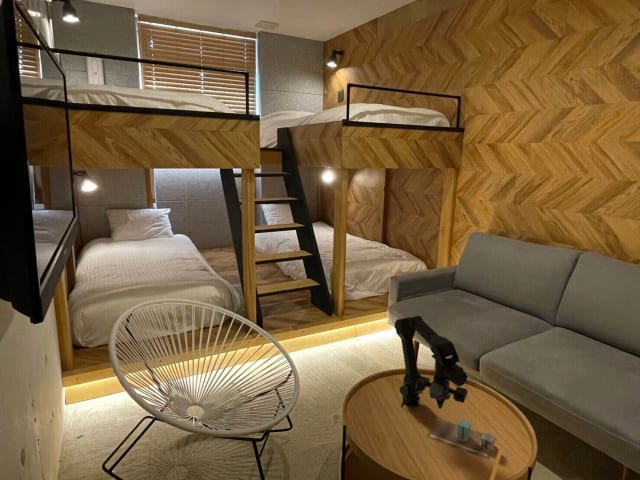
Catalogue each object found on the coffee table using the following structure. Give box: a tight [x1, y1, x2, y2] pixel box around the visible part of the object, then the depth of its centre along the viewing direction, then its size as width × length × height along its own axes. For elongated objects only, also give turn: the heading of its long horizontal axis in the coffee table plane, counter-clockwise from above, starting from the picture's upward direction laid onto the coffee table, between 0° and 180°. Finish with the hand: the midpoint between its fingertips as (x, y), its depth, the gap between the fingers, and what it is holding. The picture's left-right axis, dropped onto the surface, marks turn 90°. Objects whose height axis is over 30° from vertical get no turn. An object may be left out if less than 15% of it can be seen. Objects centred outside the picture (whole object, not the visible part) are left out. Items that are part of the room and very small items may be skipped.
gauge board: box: [426, 417, 497, 460], centre depth 166 cm, size 24×13×5 cm, turn 58°
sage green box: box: [457, 418, 472, 442], centre depth 165 cm, size 4×4×6 cm
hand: (440, 408), depth 169 cm, fingers closed
